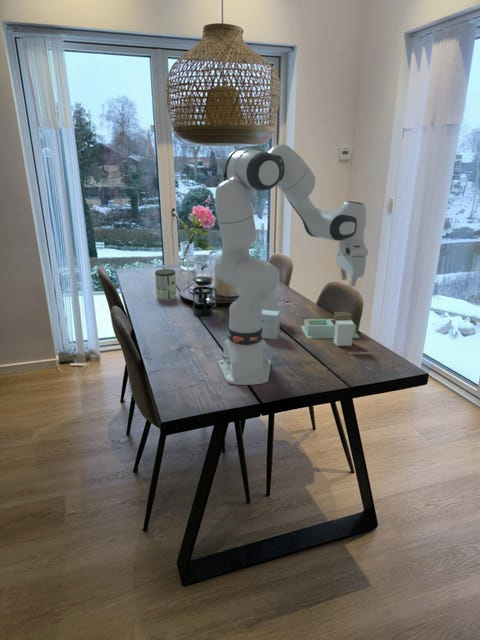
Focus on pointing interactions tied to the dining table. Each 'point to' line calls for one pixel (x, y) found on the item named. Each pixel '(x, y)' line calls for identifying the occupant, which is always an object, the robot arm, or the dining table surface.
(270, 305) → the milk bottle
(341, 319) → the walnut block
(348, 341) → the plug block
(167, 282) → the coffee can
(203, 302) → the french press
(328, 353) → the dining table surface
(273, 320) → the small box
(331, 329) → the dock
